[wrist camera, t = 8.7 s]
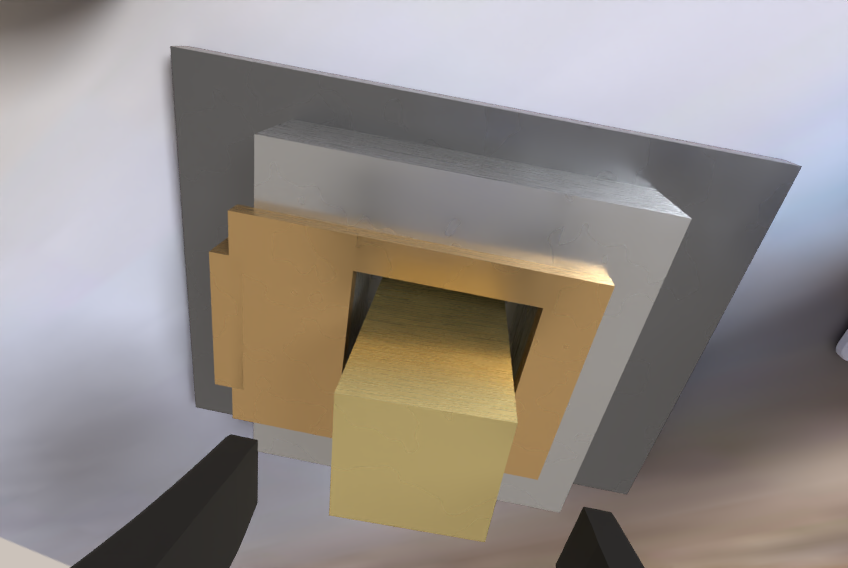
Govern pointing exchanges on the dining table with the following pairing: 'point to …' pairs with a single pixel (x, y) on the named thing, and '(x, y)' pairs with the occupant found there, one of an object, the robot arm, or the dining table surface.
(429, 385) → the rectangular block
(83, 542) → the dining table surface
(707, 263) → the rosette base
